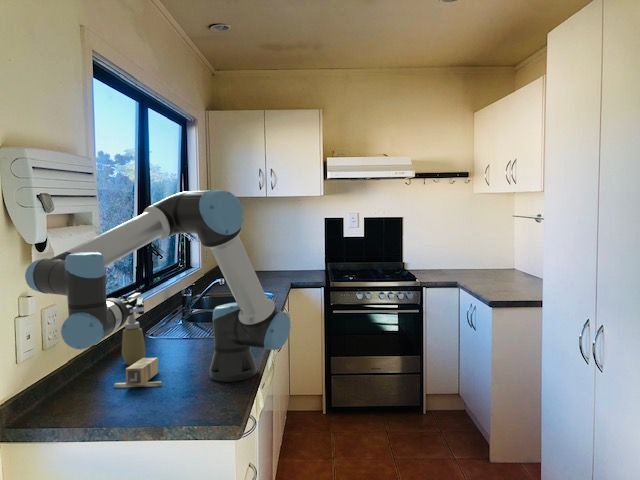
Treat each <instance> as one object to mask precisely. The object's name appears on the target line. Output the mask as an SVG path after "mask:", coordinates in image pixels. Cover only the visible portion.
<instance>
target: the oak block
mask: <svg viewBox="0 0 640 480" xmlns="http://www.w3.org/2000/svg"><path fill="white" fill-rule="evenodd" d="M158 373H159V357H144V358H142V359H140V360H139V361H137V362H136V363H134V364H133V365H128V367H126V368H125V383H126V386H129V385H143V384H145V383H146V382H149V380H151V379H152V378H154V377H155V376H156V375H157V374H158Z"/></svg>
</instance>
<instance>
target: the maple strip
mask: <svg viewBox="0 0 640 480" xmlns="http://www.w3.org/2000/svg"><path fill="white" fill-rule="evenodd" d="M162 384H163V383H162V381H147V382H146V383H145V384H143V385H129V386H126V382H115V383H114V388H115V389H116V388H142V387H144V388H146V387H161V386H162Z"/></svg>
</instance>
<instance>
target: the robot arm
mask: <svg viewBox="0 0 640 480" xmlns="http://www.w3.org/2000/svg"><path fill="white" fill-rule="evenodd" d="M243 216H244V211H243V206H242V204H241V201H240V200H239V199H238V197H237V196H236V195H234V194H233V193H232V192H230V191H227V190H221V189H209V190H193V191H189V190H186V191H185V190H184V191H182V192H177V193H175V194H172V195H170V196H167V197H165V198H163V199H161V200H160V201H158V202H155V203H153V204H151V205H149V206H147V207H145V209H144V210H143V212H142V214H140V215H138V216H136V217H133V218H132V219H130V220H127V221H126V222H123V223H121V224H119V225H117V226H115V227H113V228H111V229H109V230H106V231H105V232H103V233H101V234H99V235H97V236H95V237H92V238H91V239H88V240H86V241H85V242H82V243H79V245H76V246H74V247H73V248H71V249H68V250H66V251H64V252H61V253H59V254H57V255H56V256H53V257H51V258H41V259H37V260H34V261H33V262H32V261H31V263H30V264H29V265H28V267H27V268H26V270H25V273H24V279H25V282H26V284H27V286H28V287H29V288H30V289H31V290H33V291H36V292H39V293H41V294H46V295H47V294H49V295H50V294H51V295H57V296H58V295H60V296H67V298H66V299H67V309H68V310H67V311H68V313H67V314H68V317H67V318H66V319H64V321H63V323H62V325H61V328H60V334H61V337H62V340H63V342H64V343H65V344H66V345H67V346H69V347H70V348H72V349H75V350H85V349H89V348H90V347H92V346H95V345H97V344H99V343H100V342H101V341H102V340H103V339H105V338H106V337H107V336H109V335H111V334H112V333H113V332H115V331H117V330H118V329H119V328H121V327H122V326H123V325H125V324H126V323H127V320H128V319H129V316H131V315H133V313H134V314H135V315H145V304H144V297H142V292H135V293H133V294H131V295H130V296H128V295H125V294H124V295H122V296H121V297H122V298H121V299H120V298H115V297H108V298H107V285H106V284H107V279H106V278H107V277H106V273H107V269H106V267H108V266H110V265H112V264H113V263H115V262H117V261H118V260H120V259H123V258H124V257H126V256H128V255H130V254H132V253H134V252H135V251H137V250H139V249H141V248H142V247H144V246H147V245H148V244H150V243H152V242H154V241H155V240H165V239H167V238H169V237H172V236H174V235H180V234H181V235H182V234H194V235H195V234H196V235H197V237H198V240H199V242H200V243H201V245H202V246H203V247H204V248H207V249H210V251H211V253H212V256H213V257H214V259H215V261H216V263H217V266H218V267H219V269H220V271H221V274H222V275H223V277H224V280H225V282H226V284H227V286H228V288H229V290H230V291H231V295H232V296H233V297H234V299H235V302H229V303H224V304H221V305H217V306H215V307H214V309H213V311H212V319H211V320H212V332H213V333H212V335H213V349H214V350H213V351H214V352H213V356H212V358H211V359H212V360H211V364H210V366H209V377H210V379H212V380H213V381H217V382H227V383H228V382H229V383H230V382H232V383H233V382H238V381H239V382H240V381H246V380H248V379H251V378H253V377H255V375H257V373H258V369H257V363H256V361H255V358H254V356H253V352H252V348H257V349H261V350H266V351H267V350H268V351H269V350H272V351H276V350H279V349H281V348H282V347H283V346H284V345H285V344H286V342H287V341H288V339H289V336H290V333H291V318H290V316H289V315H288V313H287V312H284V311H283V310H281V311H279V310H278V308H277V306H276V304H275V301H274V300H273V299H271V298H268V297H267V296H266V293H265V291H264V288H263V287H262V285H261V282H260V280H259V278H258V275H257V272H256V271H255V269H254V267H253V264H252V262H251V260H250V257H249V256H248V253H247V251H246V248H245V246H244V243H243V242H242V240H241V238H240V234H241V233H242V225H243V222H244V218H243Z"/></svg>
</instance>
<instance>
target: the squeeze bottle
mask: <svg viewBox="0 0 640 480" xmlns="http://www.w3.org/2000/svg"><path fill="white" fill-rule="evenodd" d="M124 326H125V329H123V330H122V341H121V356H122V359H123V361H124V363H125V365H128V366H131V365H133V364H134V363H136V362H137V361H139V360H140V359H142V358H145V357H146V353H147V352H146V344H145V338H144V333H143V331H144V330H143V328H141V327H140V322H139V321H137V320H136V317H135V312H134V313H133V315H131V316H128V322H125V323H124Z"/></svg>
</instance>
